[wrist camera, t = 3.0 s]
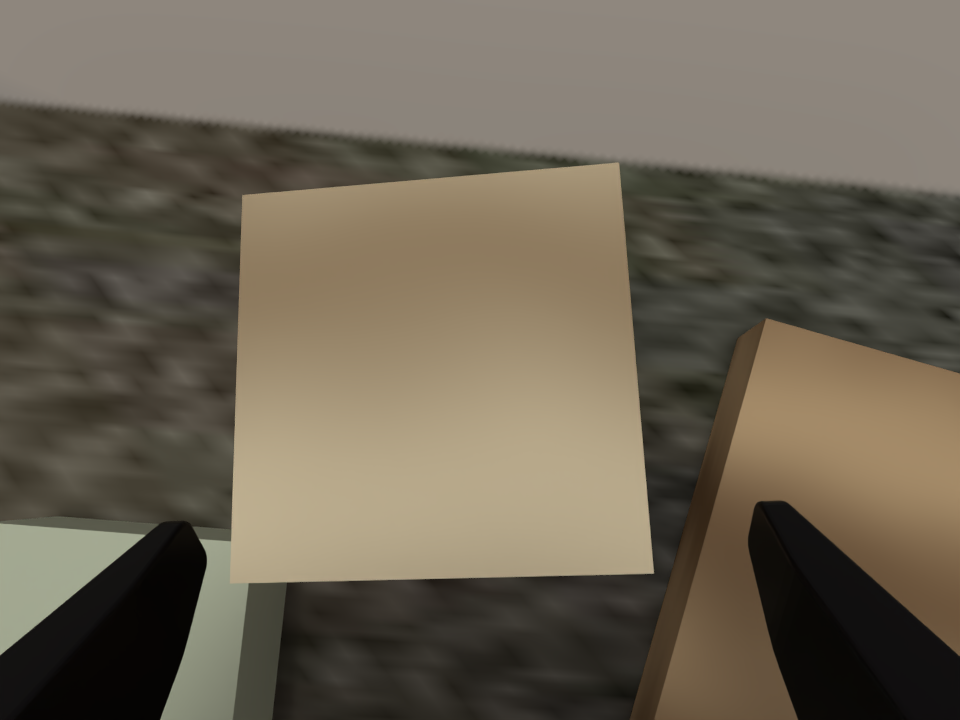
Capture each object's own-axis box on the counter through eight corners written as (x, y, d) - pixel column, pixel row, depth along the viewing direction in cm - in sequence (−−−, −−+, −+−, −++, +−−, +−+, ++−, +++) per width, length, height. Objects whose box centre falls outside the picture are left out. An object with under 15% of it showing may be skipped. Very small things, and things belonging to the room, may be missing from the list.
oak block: (1075, 911, 16) (1192, 1008, 13) (622, 730, 18) (637, 780, 15) (1157, 465, 18) (1277, 464, 15) (733, 341, 20) (766, 318, 17)
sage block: (267, 810, 19) (214, 873, 16) (22, 778, 20) (-71, 832, 17) (296, 533, 20) (253, 543, 17) (66, 515, 21) (-13, 522, 18)
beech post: (587, 511, 19) (653, 573, 7) (423, 516, 19) (229, 582, 8) (576, 347, 20) (619, 162, 8) (419, 357, 20) (242, 195, 8)
